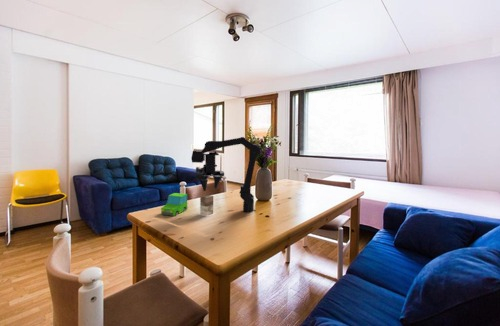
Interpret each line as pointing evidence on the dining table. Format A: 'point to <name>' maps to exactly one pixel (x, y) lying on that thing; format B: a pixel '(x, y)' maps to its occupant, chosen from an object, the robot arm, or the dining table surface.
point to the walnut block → (206, 200)
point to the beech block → (206, 210)
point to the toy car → (175, 204)
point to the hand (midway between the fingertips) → (210, 189)
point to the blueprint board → (205, 215)
